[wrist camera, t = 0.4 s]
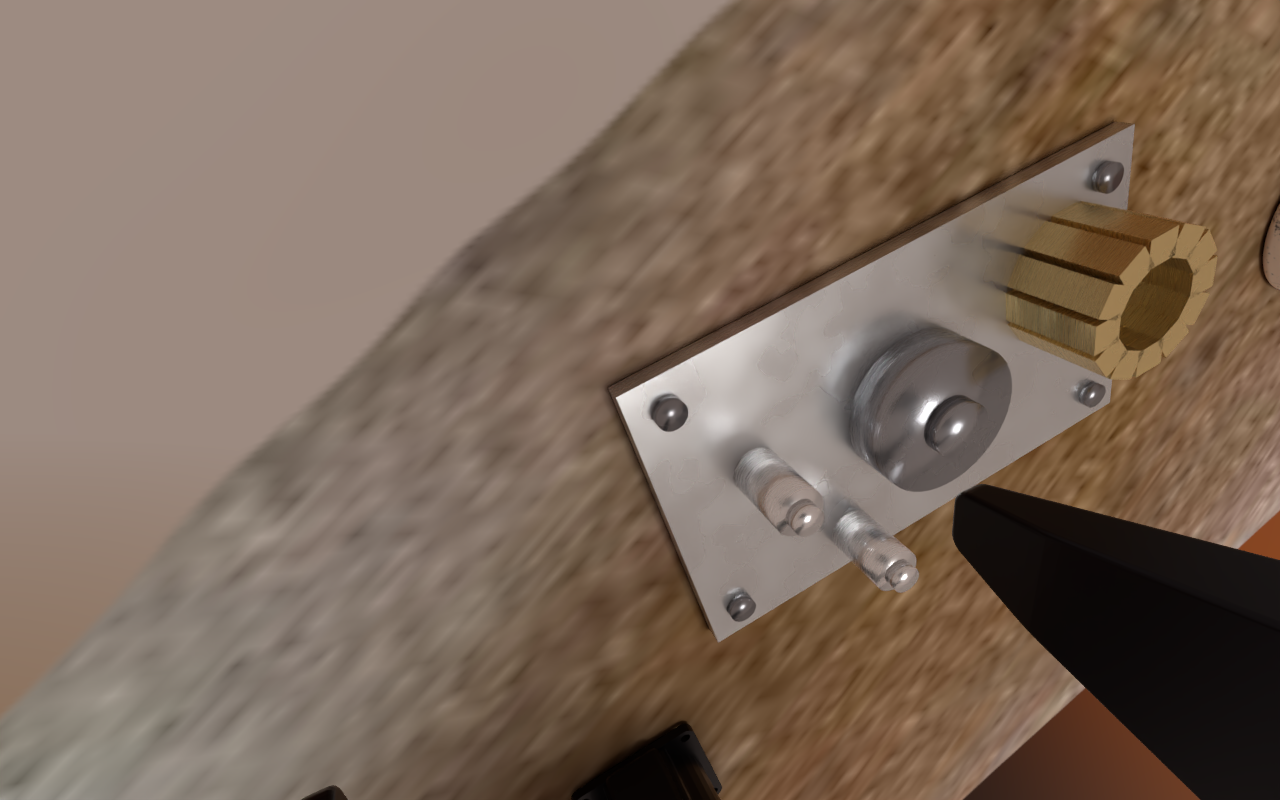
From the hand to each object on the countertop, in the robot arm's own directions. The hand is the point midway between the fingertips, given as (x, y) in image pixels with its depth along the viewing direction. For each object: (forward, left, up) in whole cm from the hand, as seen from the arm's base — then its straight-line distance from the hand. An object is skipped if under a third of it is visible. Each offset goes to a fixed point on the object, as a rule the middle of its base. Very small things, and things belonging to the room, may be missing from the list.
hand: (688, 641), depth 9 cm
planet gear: (-10, -22, -13) cm, 28 cm away
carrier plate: (-12, -14, -14) cm, 23 cm away
